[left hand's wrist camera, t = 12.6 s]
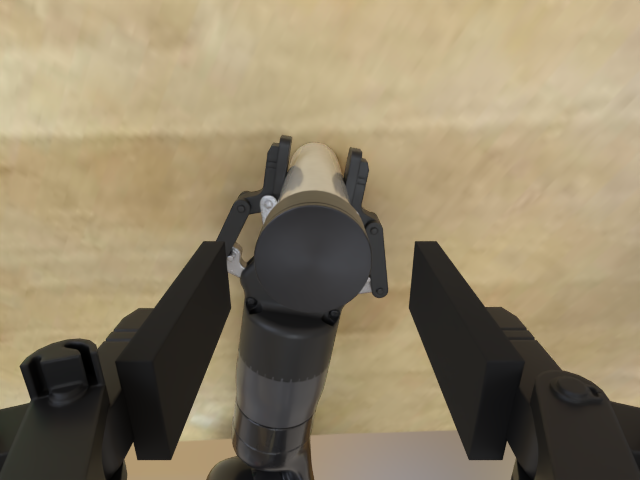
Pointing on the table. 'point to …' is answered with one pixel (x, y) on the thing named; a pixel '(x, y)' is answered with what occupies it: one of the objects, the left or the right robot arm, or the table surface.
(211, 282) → the left robot arm
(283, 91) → the table surface
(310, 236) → the lid
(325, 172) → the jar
